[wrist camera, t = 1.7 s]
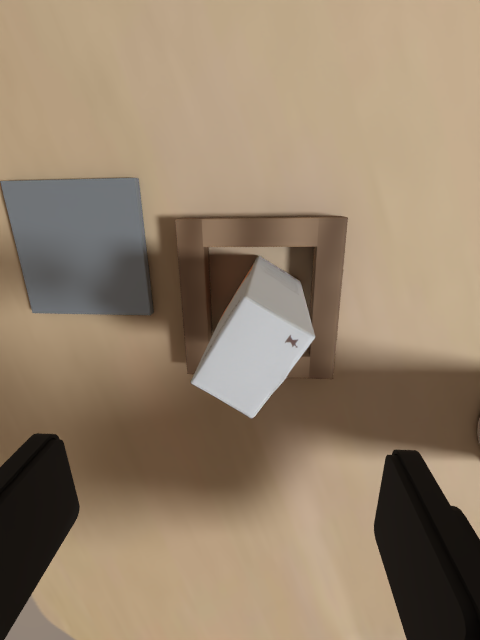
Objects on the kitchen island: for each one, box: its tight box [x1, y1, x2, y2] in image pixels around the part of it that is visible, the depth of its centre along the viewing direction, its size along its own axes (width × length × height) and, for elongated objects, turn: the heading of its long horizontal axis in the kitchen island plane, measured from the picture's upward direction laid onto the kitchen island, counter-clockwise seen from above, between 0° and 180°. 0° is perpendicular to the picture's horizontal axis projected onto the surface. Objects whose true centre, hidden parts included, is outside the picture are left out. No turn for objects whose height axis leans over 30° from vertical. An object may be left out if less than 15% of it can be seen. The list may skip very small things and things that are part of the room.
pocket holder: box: [175, 216, 348, 379], centre depth 27 cm, size 12×13×2 cm
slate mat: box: [0, 178, 154, 315], centre depth 28 cm, size 11×11×1 cm
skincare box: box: [191, 256, 315, 418], centre depth 22 cm, size 6×4×12 cm
